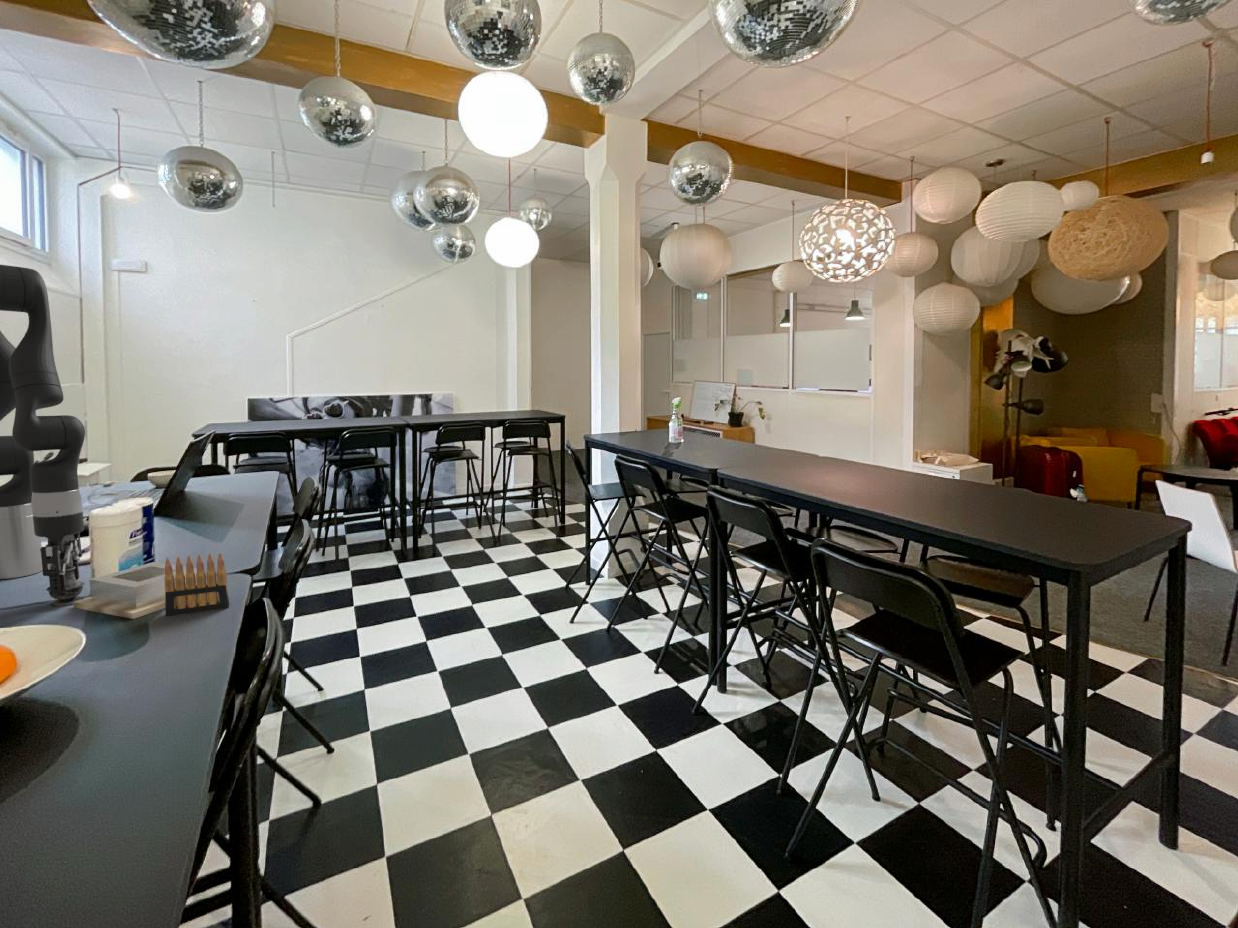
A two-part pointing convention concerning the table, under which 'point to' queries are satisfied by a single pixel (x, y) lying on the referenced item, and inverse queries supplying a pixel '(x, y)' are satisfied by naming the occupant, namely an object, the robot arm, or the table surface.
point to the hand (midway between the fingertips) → (65, 586)
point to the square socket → (133, 585)
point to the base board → (119, 608)
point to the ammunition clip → (195, 587)
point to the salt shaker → (68, 588)
